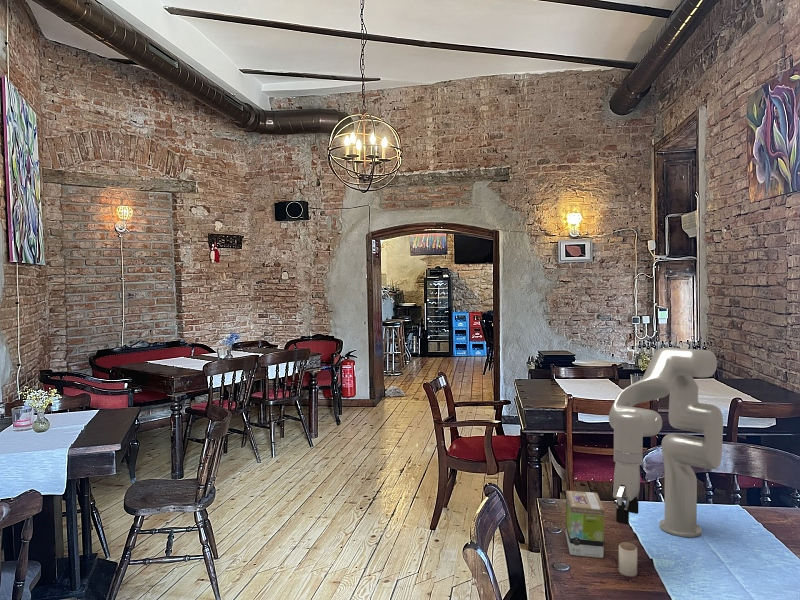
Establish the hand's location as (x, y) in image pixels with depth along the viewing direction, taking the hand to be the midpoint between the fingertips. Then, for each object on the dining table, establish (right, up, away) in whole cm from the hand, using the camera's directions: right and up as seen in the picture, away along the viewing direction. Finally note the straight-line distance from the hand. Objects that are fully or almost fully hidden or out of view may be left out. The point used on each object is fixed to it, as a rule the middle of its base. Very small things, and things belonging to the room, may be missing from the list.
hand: (627, 517), depth 156 cm
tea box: (-7, -16, +17) cm, 24 cm away
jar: (0, -15, 0) cm, 15 cm away
